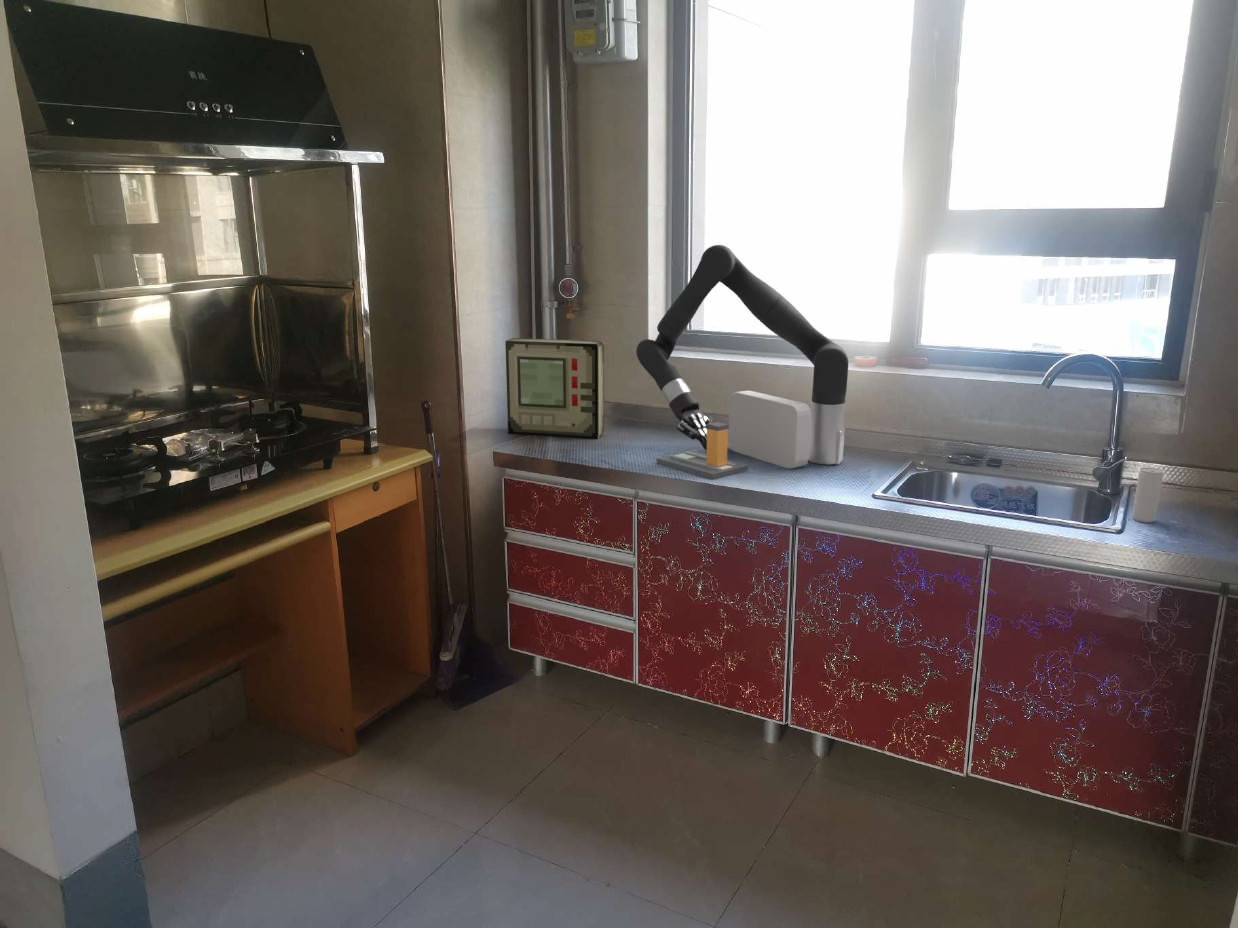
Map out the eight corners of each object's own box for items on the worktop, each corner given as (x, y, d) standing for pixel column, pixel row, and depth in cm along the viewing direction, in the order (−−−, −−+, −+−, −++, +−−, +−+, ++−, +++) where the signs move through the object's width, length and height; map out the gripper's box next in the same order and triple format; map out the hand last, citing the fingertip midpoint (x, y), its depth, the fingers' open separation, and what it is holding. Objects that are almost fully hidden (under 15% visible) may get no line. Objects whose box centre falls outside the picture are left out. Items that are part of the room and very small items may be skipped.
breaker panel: (656, 463, 259) (656, 456, 258) (691, 455, 268) (691, 448, 267) (713, 479, 243) (713, 472, 242) (748, 470, 252) (748, 463, 251)
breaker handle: (705, 463, 251) (706, 424, 248) (716, 461, 253) (717, 421, 251) (716, 466, 248) (718, 426, 245) (727, 464, 250) (728, 424, 248)
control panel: (508, 434, 294) (505, 340, 286) (516, 429, 301) (513, 338, 293) (598, 439, 287) (597, 344, 279) (604, 434, 294) (603, 341, 286)
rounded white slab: (814, 466, 256) (818, 404, 251) (794, 470, 252) (798, 406, 247) (746, 446, 279) (749, 388, 274) (727, 449, 275) (729, 390, 270)
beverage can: (1147, 516, 214) (1155, 467, 210) (1160, 523, 209) (1168, 472, 206) (1127, 516, 213) (1135, 467, 210) (1139, 523, 209) (1147, 473, 206)
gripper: (669, 393, 250) (700, 445, 245) (703, 388, 259) (734, 437, 253) (656, 409, 256) (686, 460, 250) (689, 403, 264) (719, 452, 258)
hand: (710, 448), depth 252 cm, fingers closed
